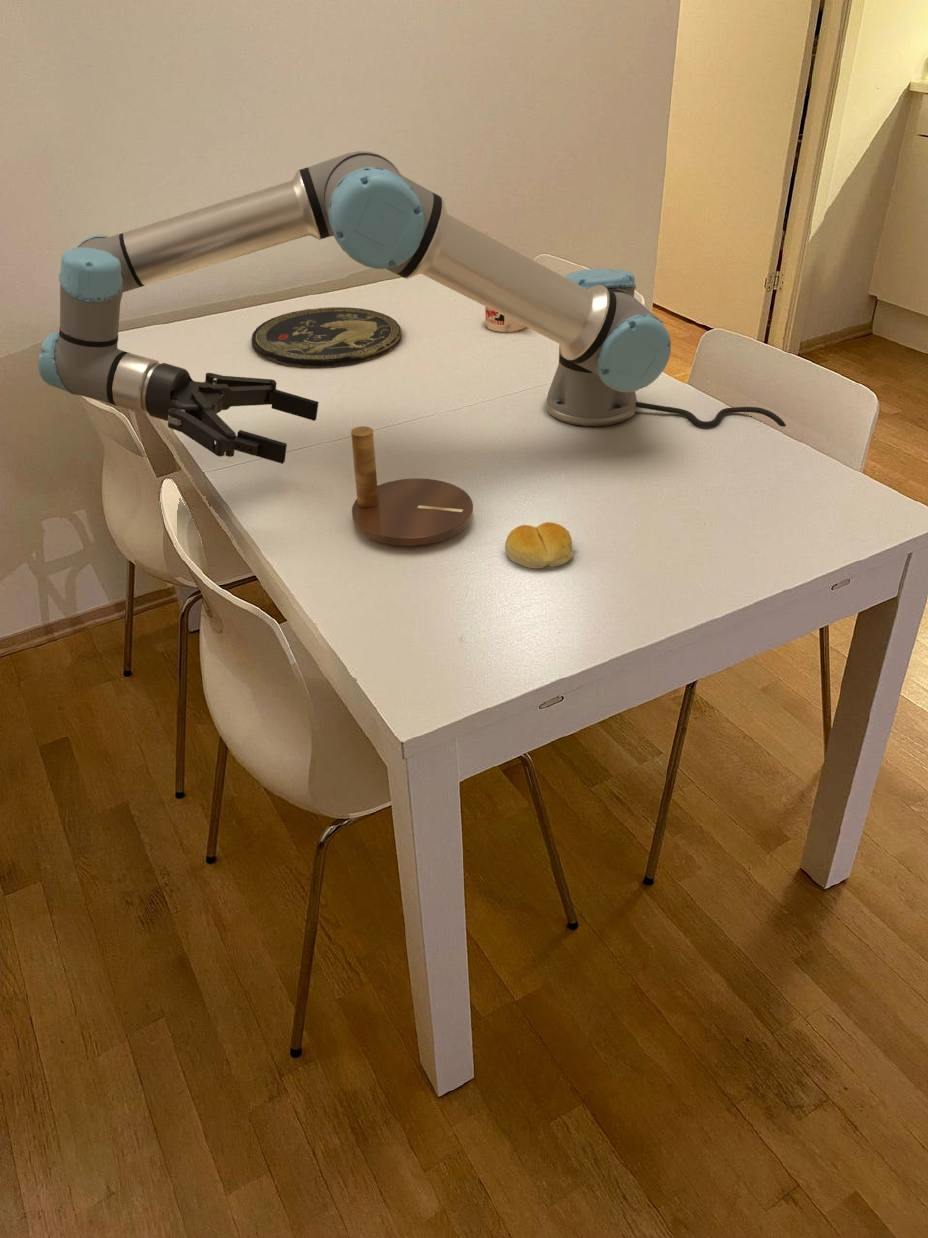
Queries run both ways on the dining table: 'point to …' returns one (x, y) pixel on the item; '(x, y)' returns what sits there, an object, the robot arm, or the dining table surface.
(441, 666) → the dining table surface
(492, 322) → the teacup with lid
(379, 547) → the dining table surface
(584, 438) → the dining table surface
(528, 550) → the bread roll
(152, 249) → the robot arm
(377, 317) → the decorative plate
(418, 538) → the turntable
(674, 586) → the dining table surface
